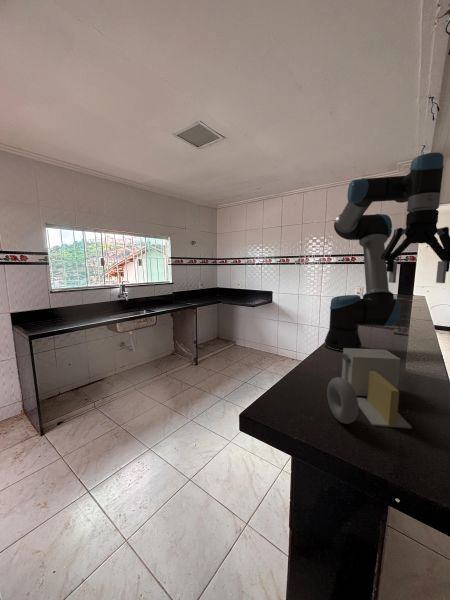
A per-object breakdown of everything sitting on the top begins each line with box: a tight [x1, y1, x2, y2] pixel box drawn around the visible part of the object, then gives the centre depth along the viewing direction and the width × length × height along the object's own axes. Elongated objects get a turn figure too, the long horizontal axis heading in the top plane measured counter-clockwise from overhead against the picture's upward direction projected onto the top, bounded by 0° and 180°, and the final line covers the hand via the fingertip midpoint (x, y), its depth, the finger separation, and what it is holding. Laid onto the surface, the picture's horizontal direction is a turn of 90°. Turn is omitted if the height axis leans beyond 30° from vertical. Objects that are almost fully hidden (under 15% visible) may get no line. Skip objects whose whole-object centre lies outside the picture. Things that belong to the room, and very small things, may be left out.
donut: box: [326, 376, 359, 425], centre depth 58 cm, size 10×3×10 cm, turn 4°
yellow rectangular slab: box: [366, 371, 400, 426], centre depth 61 cm, size 2×11×8 cm, turn 173°
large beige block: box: [341, 348, 401, 397], centre depth 73 cm, size 8×13×11 cm, turn 82°
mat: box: [357, 397, 413, 429], centre depth 62 cm, size 12×8×1 cm, turn 172°
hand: (415, 282), depth 78 cm, fingers open, 13 cm apart
